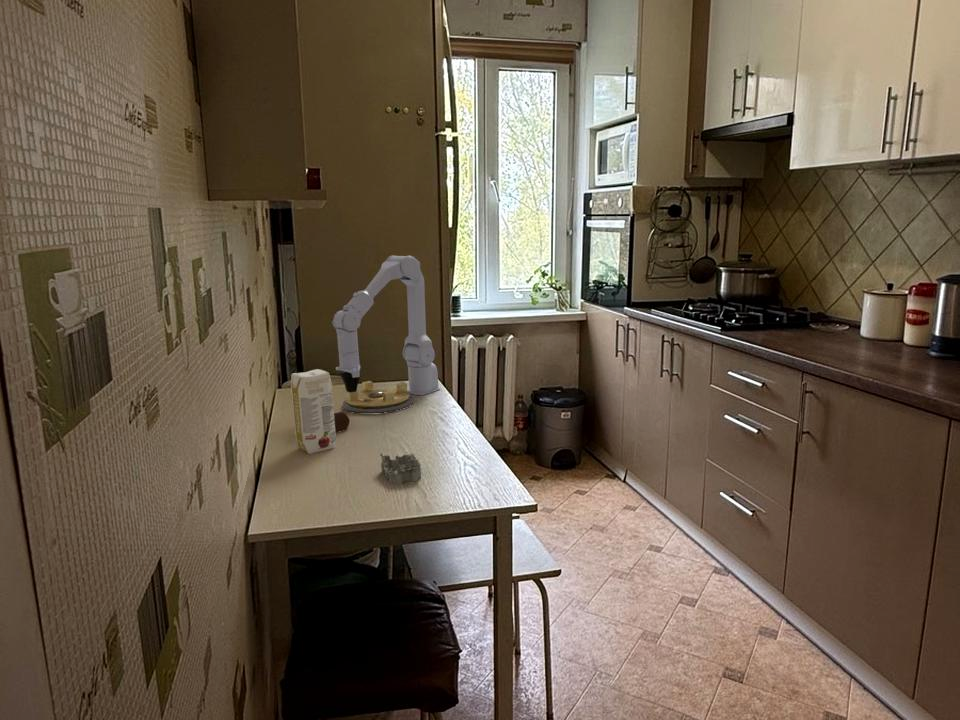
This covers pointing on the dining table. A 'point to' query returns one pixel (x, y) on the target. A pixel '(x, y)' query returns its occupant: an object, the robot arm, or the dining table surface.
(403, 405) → the grey plate
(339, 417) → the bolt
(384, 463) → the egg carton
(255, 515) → the dining table surface
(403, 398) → the round tray
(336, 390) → the dining table surface
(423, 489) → the dining table surface
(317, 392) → the juice carton
